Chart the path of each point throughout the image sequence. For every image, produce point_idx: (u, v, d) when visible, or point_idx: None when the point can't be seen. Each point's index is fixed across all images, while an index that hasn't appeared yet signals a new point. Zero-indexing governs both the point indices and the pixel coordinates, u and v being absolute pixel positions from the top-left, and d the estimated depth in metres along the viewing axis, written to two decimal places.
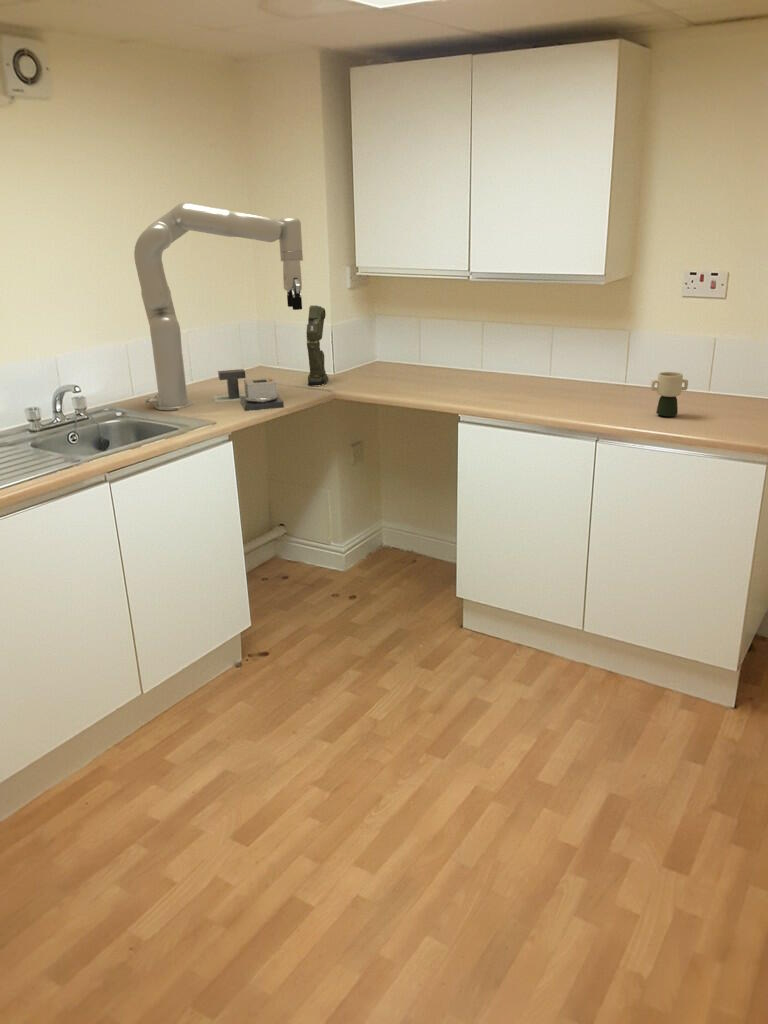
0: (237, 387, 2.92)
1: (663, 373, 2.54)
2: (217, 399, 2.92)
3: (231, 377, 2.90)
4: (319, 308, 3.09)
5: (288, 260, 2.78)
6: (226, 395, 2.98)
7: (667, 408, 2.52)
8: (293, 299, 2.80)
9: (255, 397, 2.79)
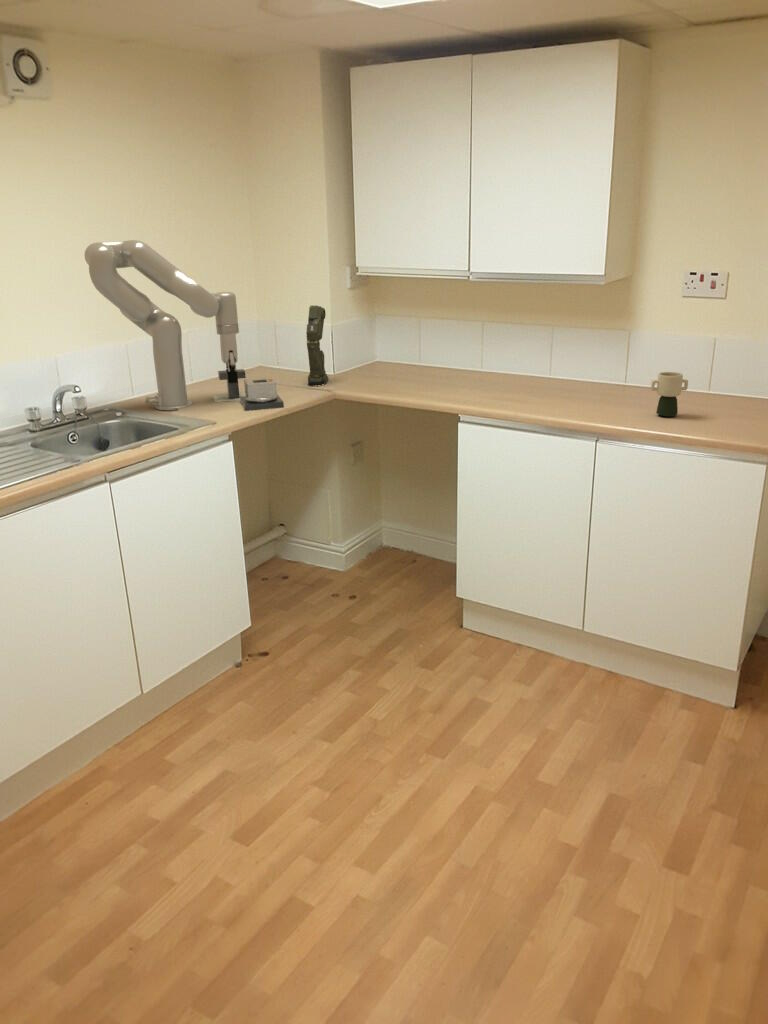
0: (237, 387, 2.92)
1: (663, 373, 2.54)
2: (217, 399, 2.92)
3: None
4: (319, 308, 3.09)
5: (223, 333, 2.83)
6: (226, 395, 2.98)
7: (667, 408, 2.52)
8: (229, 373, 2.89)
9: (255, 397, 2.79)
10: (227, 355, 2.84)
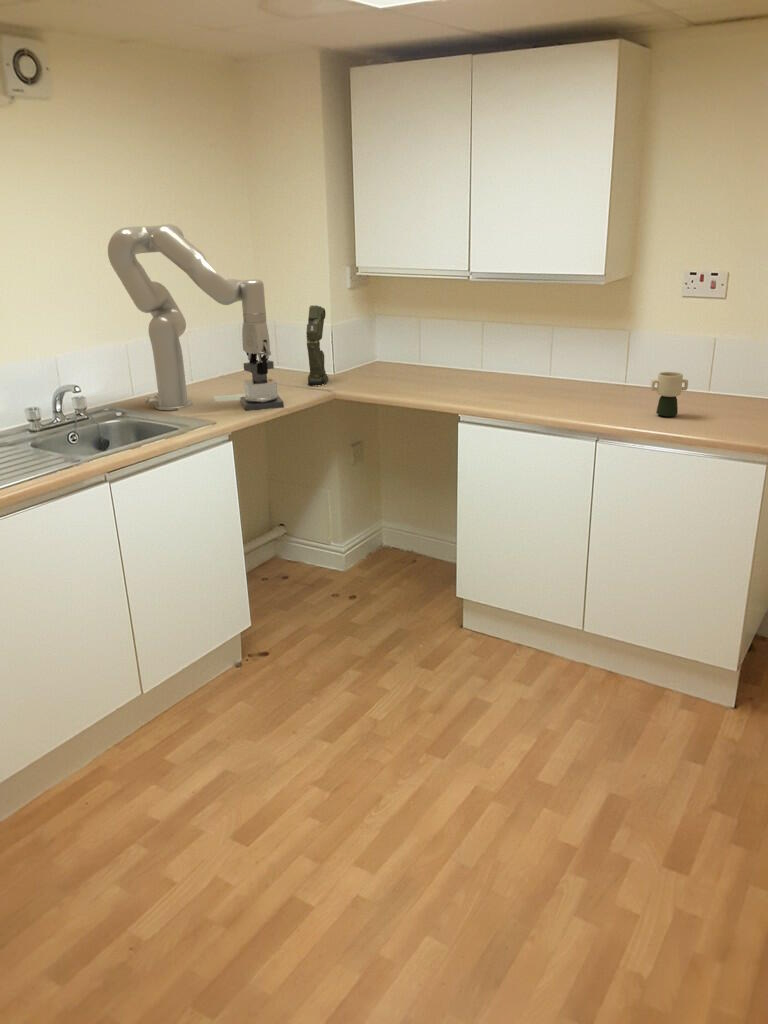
0: (266, 378, 2.81)
1: (663, 373, 2.54)
2: (217, 399, 2.92)
3: None
4: (319, 308, 3.09)
5: (256, 323, 2.72)
6: (226, 395, 2.98)
7: (667, 408, 2.52)
8: (260, 364, 2.77)
9: (256, 397, 2.78)
10: (262, 345, 2.73)
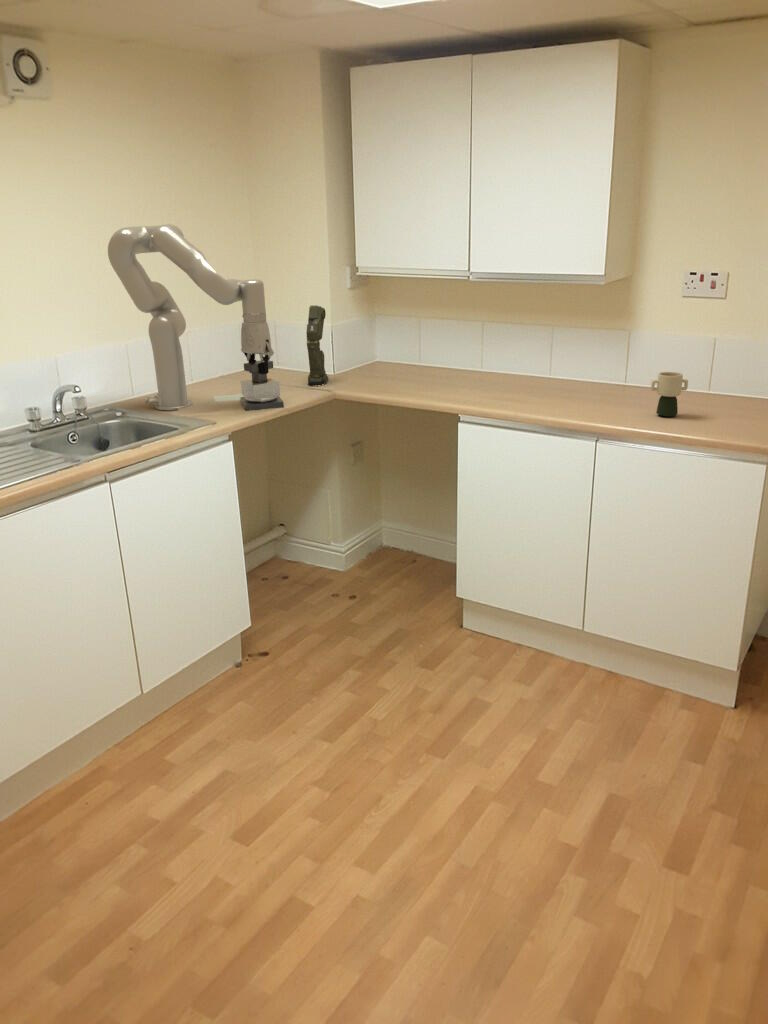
0: (266, 378, 2.81)
1: (663, 373, 2.54)
2: (217, 399, 2.92)
3: None
4: (319, 308, 3.09)
5: (258, 322, 2.72)
6: (226, 395, 2.98)
7: (667, 408, 2.52)
8: (262, 364, 2.77)
9: (260, 397, 2.78)
10: (264, 345, 2.74)
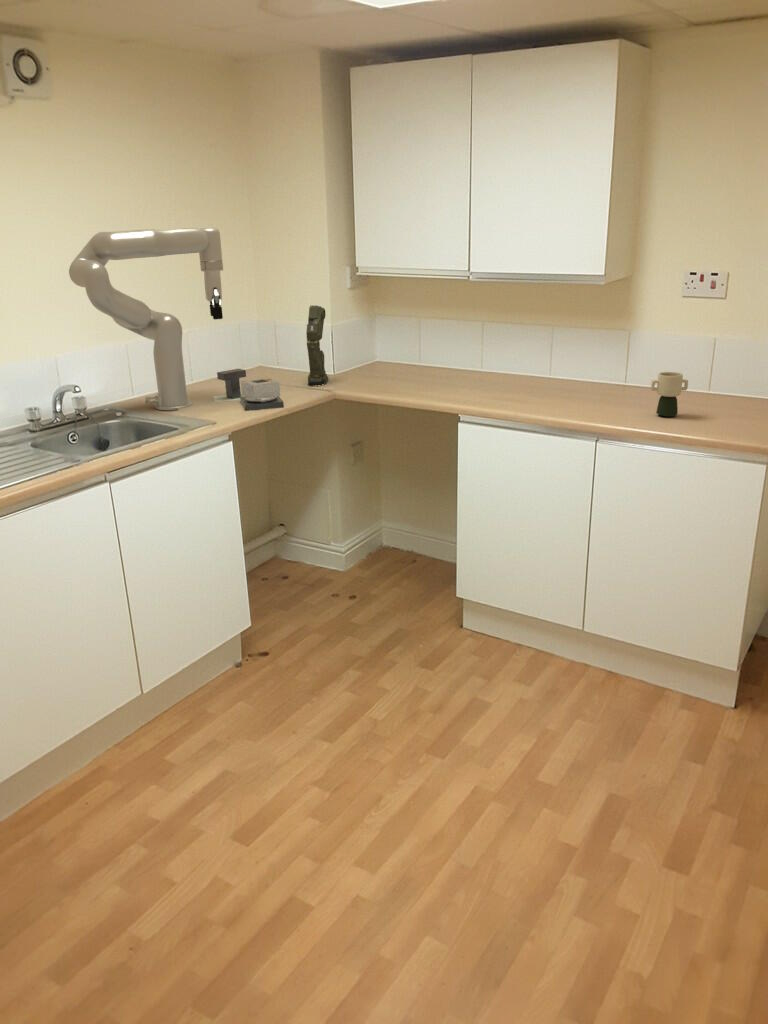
0: (239, 386, 2.93)
1: (663, 373, 2.54)
2: (217, 399, 2.92)
3: (234, 377, 2.90)
4: (319, 308, 3.09)
5: (207, 270, 2.79)
6: (226, 395, 2.98)
7: (667, 408, 2.52)
8: (213, 309, 2.82)
9: (260, 397, 2.78)
10: (211, 292, 2.80)
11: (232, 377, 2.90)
